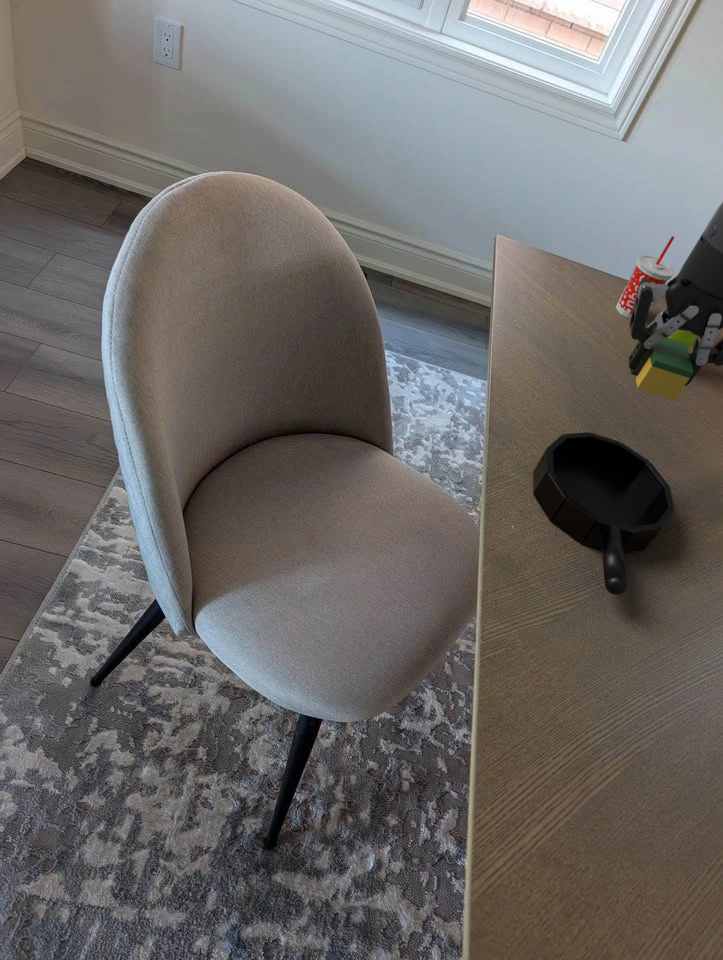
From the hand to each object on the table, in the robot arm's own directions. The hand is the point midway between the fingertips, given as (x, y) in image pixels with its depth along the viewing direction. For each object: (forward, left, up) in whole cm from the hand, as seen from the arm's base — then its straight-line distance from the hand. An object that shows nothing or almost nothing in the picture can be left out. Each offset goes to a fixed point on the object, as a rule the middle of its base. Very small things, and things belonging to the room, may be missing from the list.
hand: (654, 377), depth 86 cm
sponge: (0, 0, 0) cm, 0 cm away
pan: (+9, +7, -14) cm, 18 cm away
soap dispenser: (-31, -12, -14) cm, 36 cm away
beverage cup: (-37, -23, -14) cm, 46 cm away
